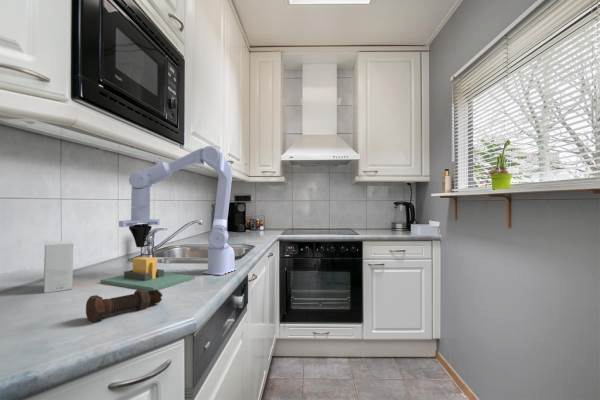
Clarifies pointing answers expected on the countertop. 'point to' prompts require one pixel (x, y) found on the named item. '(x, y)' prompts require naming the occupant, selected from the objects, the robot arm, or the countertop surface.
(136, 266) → the yellow arched block
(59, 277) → the small box
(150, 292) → the bolt
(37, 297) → the countertop surface
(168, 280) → the board
